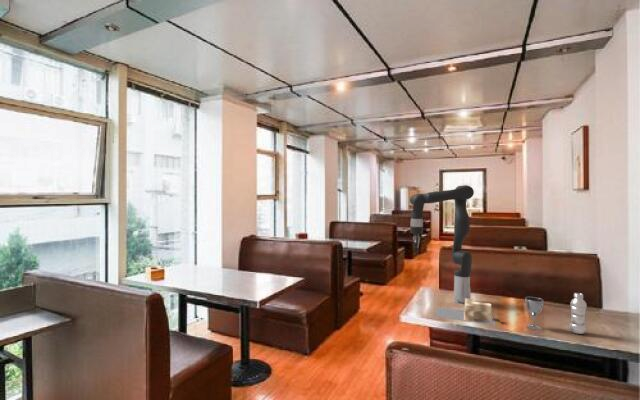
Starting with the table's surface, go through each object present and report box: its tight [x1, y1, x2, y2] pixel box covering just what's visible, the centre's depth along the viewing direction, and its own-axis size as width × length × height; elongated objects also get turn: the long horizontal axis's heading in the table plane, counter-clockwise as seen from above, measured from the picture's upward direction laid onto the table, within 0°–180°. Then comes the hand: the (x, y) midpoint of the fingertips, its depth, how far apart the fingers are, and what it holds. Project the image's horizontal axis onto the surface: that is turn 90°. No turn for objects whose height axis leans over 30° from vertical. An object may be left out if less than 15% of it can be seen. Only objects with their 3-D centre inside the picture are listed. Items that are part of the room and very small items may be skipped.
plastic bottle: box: [568, 292, 587, 335], centre depth 167 cm, size 6×7×20 cm
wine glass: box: [524, 296, 544, 331], centre depth 174 cm, size 8×8×15 cm
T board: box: [434, 306, 497, 326], centre depth 187 cm, size 30×18×1 cm, turn 67°
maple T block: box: [464, 298, 492, 321], centre depth 184 cm, size 13×14×8 cm
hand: (416, 253), depth 211 cm, fingers closed
